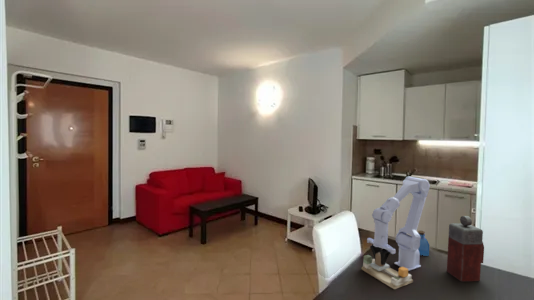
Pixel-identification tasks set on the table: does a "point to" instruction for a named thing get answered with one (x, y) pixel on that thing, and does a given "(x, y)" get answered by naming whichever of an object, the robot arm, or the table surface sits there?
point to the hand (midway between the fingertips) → (380, 262)
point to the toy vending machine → (465, 250)
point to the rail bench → (385, 274)
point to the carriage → (379, 263)
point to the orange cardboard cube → (403, 272)
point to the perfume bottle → (423, 244)
